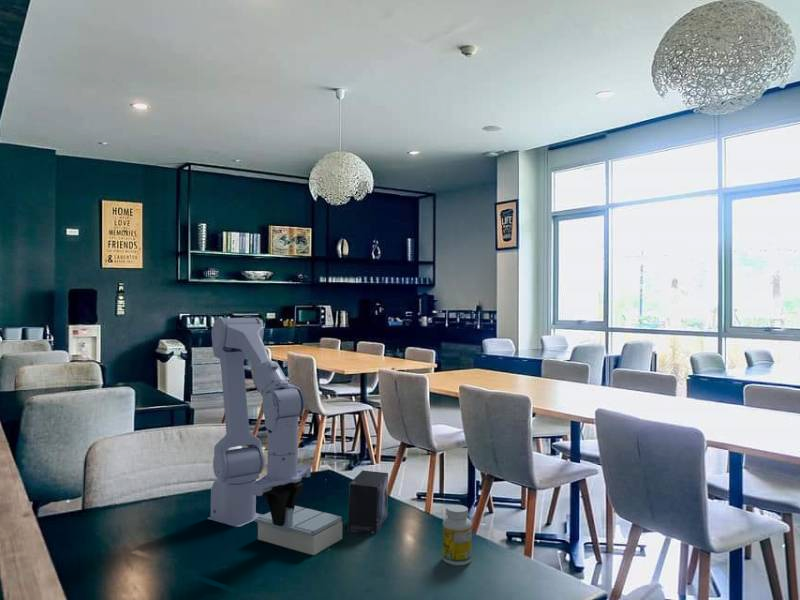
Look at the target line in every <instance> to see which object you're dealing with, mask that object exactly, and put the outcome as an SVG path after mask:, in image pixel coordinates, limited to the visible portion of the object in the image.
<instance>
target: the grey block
mask: <svg viewBox="0 0 800 600" xmlns="http://www.w3.org/2000/svg"><path fill="white" fill-rule="evenodd" d="M257 540H258V541H262V542H266V543H268V544H273V545H276V546H280V547H284V548H286V549H289V550H294V551H297V552H301V553H304V554H307V555H311V556H314V555H315V556H316V555H317V554H318V553H320V552H322V551H323V550H325V549H327V548H329V547H330V546H332V545H334V544H336V543H339V542H340V541H341V540H343V521H342V520H341V521H339V522H337V523H335V524H333V525H331V526H329V527H328V528H326V529H324V530H322V531H320V532H318V533H316V534H314V535H312V536H310V537H309V536H306V535H302V534H298V533H295V532H291V531H289V532H285V531H281V530H277V529H274V528H272V526H268V525H265V524H261V523H257Z"/></svg>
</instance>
